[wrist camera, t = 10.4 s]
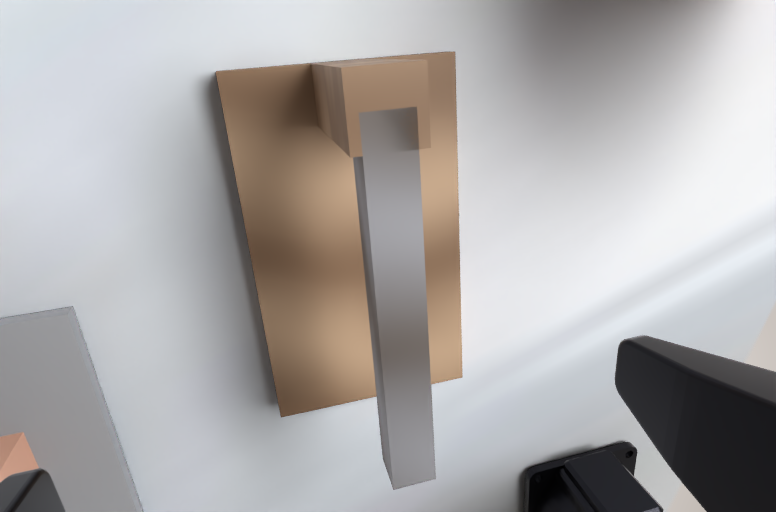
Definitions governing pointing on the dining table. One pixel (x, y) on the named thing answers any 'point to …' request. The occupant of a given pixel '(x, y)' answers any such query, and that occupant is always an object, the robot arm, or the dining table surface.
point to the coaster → (62, 411)
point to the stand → (354, 235)
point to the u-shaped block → (15, 455)
